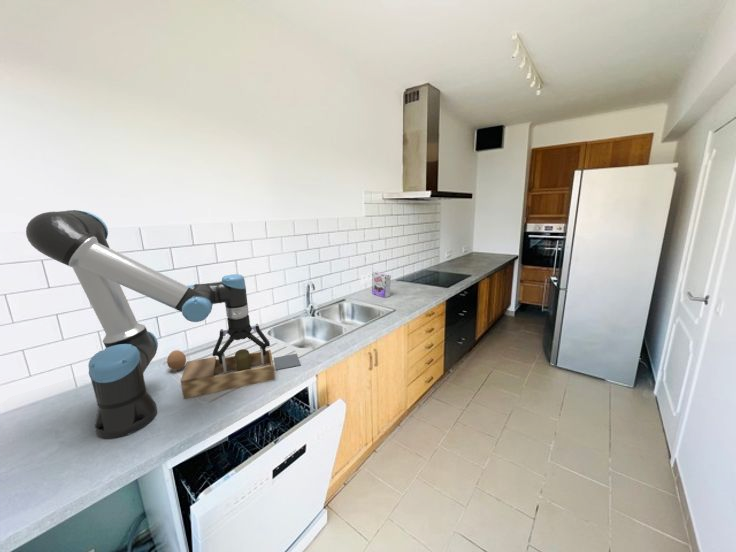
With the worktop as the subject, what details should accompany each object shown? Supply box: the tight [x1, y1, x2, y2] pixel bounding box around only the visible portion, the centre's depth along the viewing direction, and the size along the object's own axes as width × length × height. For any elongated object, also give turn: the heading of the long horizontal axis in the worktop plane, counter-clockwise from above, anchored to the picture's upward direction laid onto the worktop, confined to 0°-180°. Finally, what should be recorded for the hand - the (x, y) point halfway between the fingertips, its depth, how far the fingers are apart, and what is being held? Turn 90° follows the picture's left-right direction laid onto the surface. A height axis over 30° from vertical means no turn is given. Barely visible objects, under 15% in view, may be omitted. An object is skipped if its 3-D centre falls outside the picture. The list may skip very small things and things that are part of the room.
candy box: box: [371, 271, 392, 299], centre depth 217 cm, size 14×6×16 cm, turn 43°
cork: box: [234, 348, 252, 372], centre depth 116 cm, size 6×6×11 cm
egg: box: [166, 349, 187, 371], centre depth 121 cm, size 6×6×8 cm
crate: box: [180, 349, 276, 399], centre depth 115 cm, size 31×14×7 cm, turn 113°
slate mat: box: [273, 353, 302, 371], centre depth 128 cm, size 10×10×1 cm
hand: (244, 366), depth 116 cm, fingers open, 13 cm apart
